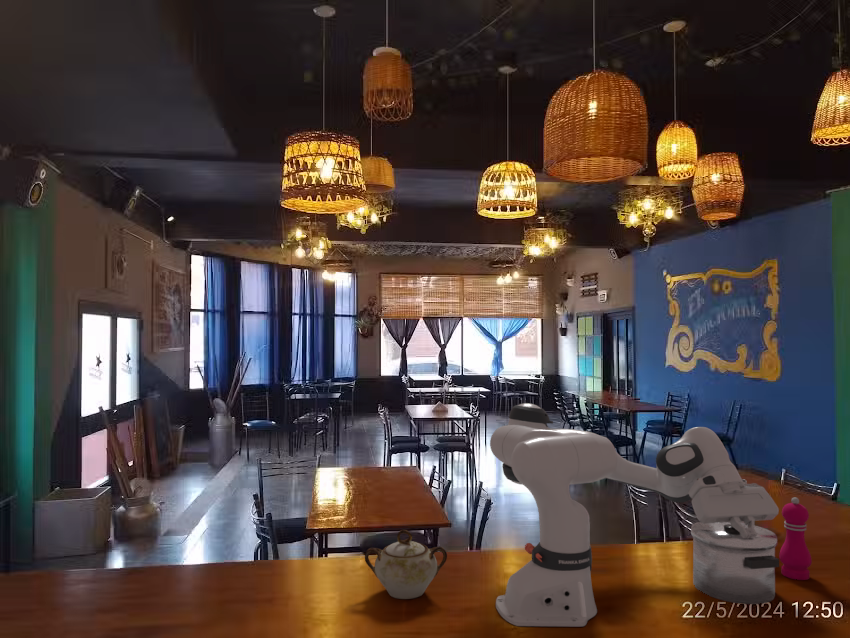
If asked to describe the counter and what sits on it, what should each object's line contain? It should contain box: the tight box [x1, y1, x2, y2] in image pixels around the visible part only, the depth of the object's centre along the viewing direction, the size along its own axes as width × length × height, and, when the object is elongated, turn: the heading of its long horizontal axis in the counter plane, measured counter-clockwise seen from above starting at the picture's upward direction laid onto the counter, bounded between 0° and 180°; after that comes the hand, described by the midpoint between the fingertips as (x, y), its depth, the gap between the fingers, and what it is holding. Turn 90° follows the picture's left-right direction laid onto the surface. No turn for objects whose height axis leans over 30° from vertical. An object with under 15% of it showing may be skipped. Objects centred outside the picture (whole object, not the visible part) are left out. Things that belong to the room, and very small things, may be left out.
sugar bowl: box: [364, 529, 448, 600], centre depth 156 cm, size 20×15×15 cm
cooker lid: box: [690, 521, 778, 551], centre depth 159 cm, size 19×19×3 cm
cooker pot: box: [692, 536, 780, 605], centre depth 159 cm, size 18×22×12 cm
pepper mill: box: [778, 497, 813, 581], centre depth 168 cm, size 7×7×20 cm
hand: (750, 536), depth 153 cm, fingers closed
